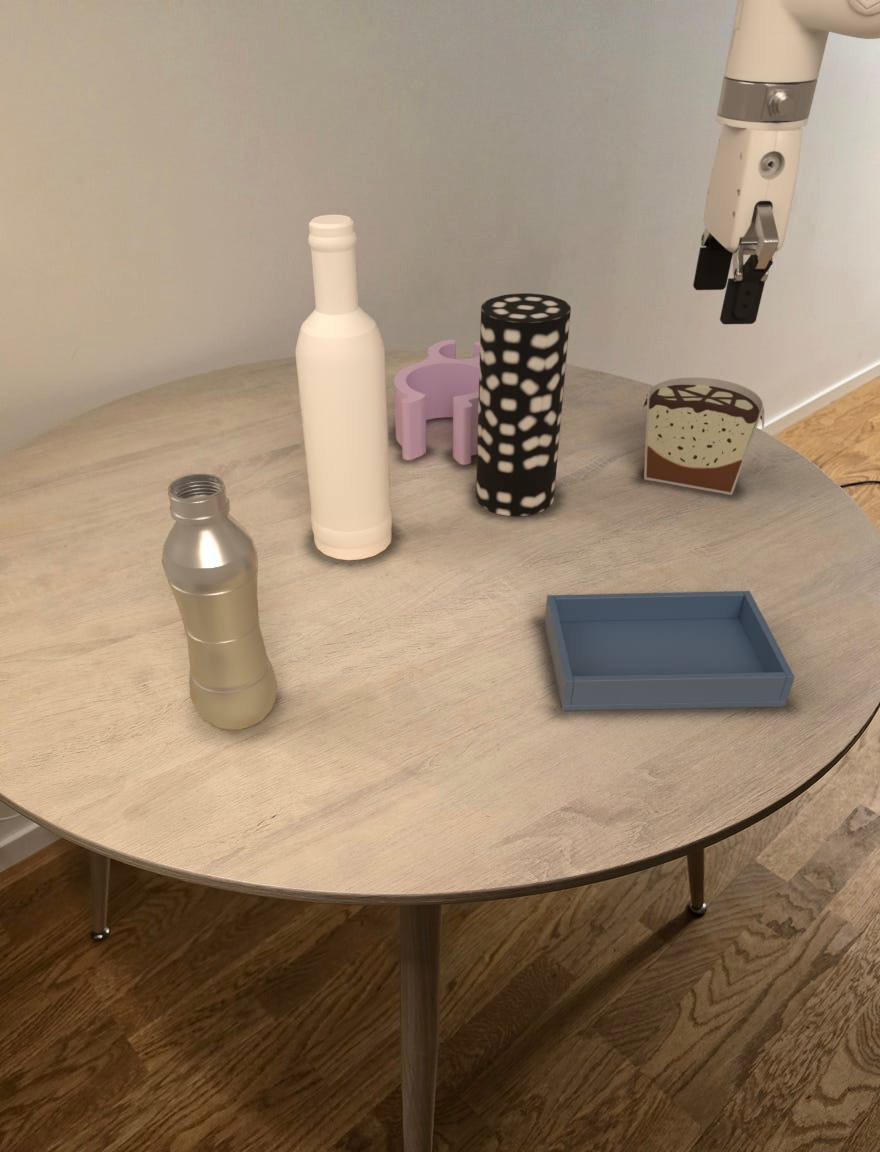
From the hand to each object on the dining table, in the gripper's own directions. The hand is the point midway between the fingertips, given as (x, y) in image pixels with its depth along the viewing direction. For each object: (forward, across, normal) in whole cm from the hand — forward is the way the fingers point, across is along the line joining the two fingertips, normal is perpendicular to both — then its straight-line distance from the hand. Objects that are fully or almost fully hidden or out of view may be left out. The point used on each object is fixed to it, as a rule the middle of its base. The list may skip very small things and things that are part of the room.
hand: (722, 305), depth 87 cm
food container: (+19, 0, -1) cm, 19 cm away
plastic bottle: (+19, -37, +44) cm, 61 cm away
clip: (+19, +14, +25) cm, 35 cm away
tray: (+18, -32, +10) cm, 38 cm away
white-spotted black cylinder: (+19, -4, +19) cm, 27 cm away
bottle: (+19, -12, +36) cm, 43 cm away
